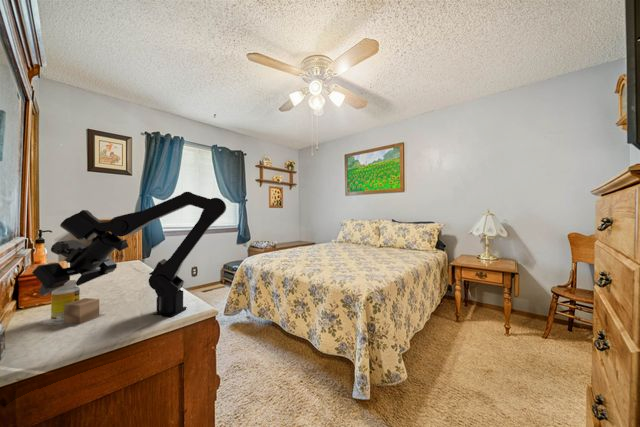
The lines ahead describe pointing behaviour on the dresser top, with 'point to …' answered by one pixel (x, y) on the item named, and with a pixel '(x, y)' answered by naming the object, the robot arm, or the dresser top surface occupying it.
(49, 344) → the dresser top surface
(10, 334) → the dresser top surface
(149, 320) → the dresser top surface
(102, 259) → the robot arm
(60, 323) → the grey flat slab
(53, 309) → the supplement bottle
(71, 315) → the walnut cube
